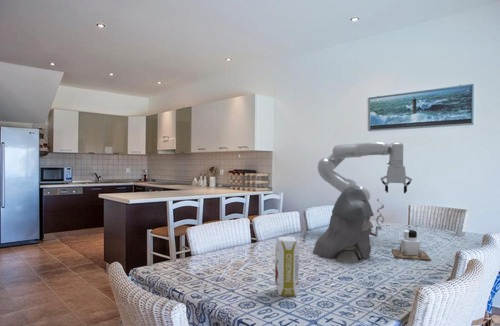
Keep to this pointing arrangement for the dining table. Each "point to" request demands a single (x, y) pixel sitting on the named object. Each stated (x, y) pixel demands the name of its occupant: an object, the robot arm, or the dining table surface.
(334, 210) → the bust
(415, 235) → the white capped block
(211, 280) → the dining table surface
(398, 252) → the wooden peg board
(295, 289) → the juice carton
